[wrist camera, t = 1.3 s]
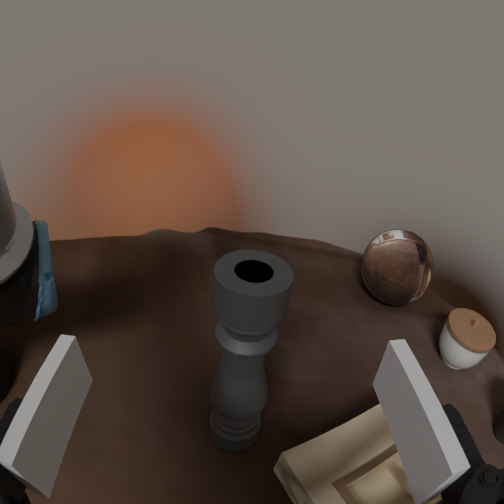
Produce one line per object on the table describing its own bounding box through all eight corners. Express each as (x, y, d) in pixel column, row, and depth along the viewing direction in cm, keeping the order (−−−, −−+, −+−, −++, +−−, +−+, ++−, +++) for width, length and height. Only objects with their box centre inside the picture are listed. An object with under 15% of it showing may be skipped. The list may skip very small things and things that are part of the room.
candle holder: (264, 418, 38) (304, 259, 24) (250, 457, 32) (288, 309, 19) (219, 404, 39) (228, 240, 26) (202, 441, 34) (194, 284, 21)
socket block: (272, 469, 31) (282, 451, 28) (373, 419, 38) (391, 395, 34) (362, 600, 15) (388, 602, 11) (457, 524, 21) (487, 510, 18)
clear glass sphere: (344, 274, 68) (362, 212, 60) (401, 276, 69) (422, 220, 61) (365, 322, 55) (391, 253, 47) (428, 320, 57) (458, 258, 49)
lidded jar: (441, 382, 43) (469, 344, 38) (422, 337, 52) (443, 299, 47) (482, 376, 43) (509, 340, 38) (462, 336, 52) (484, 301, 48)
